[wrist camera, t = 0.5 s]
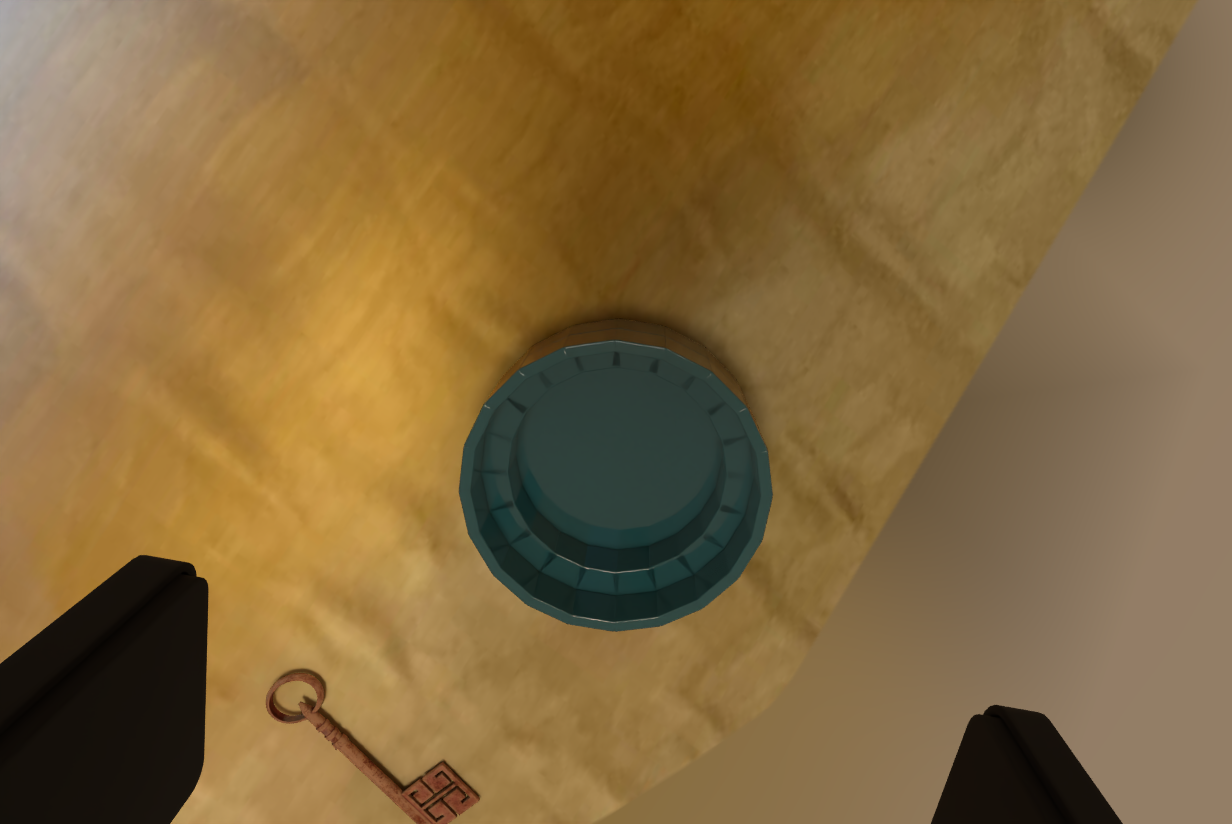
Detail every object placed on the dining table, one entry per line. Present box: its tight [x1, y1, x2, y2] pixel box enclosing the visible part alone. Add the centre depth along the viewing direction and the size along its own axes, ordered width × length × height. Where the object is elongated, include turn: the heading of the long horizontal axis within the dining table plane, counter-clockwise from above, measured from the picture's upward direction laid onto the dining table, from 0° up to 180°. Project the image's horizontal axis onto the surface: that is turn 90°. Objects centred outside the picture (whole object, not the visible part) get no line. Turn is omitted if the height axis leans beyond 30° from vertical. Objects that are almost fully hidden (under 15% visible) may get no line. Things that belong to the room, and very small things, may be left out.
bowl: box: [459, 319, 773, 632], centre depth 43 cm, size 15×15×6 cm
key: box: [266, 673, 480, 824], centre depth 52 cm, size 6×1×15 cm
